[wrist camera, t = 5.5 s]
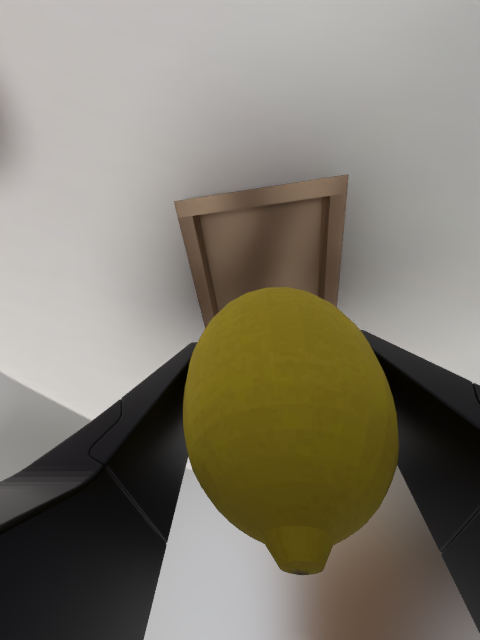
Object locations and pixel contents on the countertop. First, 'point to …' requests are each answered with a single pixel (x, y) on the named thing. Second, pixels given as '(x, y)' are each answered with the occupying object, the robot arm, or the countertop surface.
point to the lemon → (290, 423)
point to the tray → (265, 240)
